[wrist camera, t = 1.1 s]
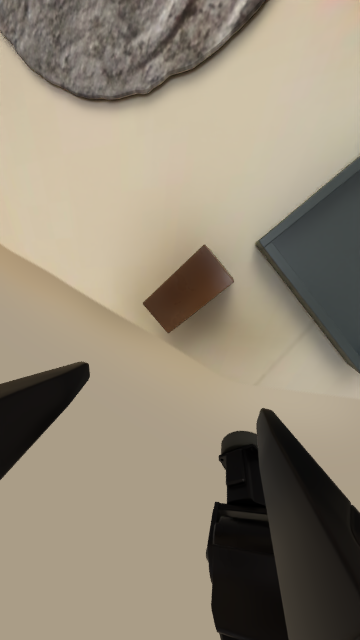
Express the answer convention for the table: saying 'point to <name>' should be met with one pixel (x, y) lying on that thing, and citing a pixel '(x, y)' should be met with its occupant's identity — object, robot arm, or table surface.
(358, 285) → the tray
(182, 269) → the brown rectangular block
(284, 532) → the robot arm
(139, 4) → the ancient coin
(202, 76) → the table surface
